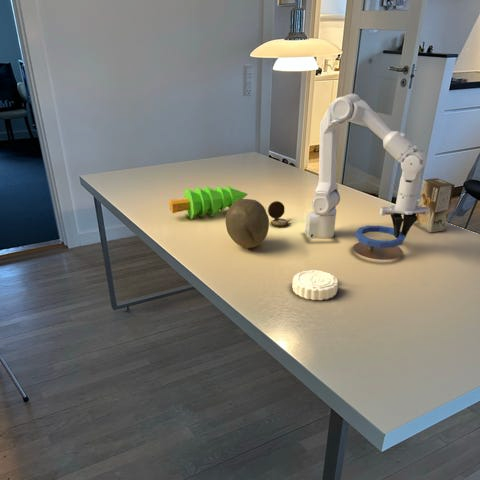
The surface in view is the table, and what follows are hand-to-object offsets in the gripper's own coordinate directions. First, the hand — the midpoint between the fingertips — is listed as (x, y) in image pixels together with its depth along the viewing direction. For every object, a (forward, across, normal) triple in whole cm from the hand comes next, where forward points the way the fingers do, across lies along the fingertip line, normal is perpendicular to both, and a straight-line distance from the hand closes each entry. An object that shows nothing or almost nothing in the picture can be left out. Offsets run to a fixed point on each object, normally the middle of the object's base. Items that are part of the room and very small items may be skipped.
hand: (399, 237), depth 151 cm
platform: (+5, -6, 0) cm, 8 cm away
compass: (+6, -33, +28) cm, 43 cm away
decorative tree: (+6, -58, +38) cm, 69 cm away
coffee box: (+6, +19, +22) cm, 29 cm away
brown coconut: (+6, -47, +8) cm, 48 cm away
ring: (0, -6, 0) cm, 6 cm away
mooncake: (+6, -31, -24) cm, 39 cm away
